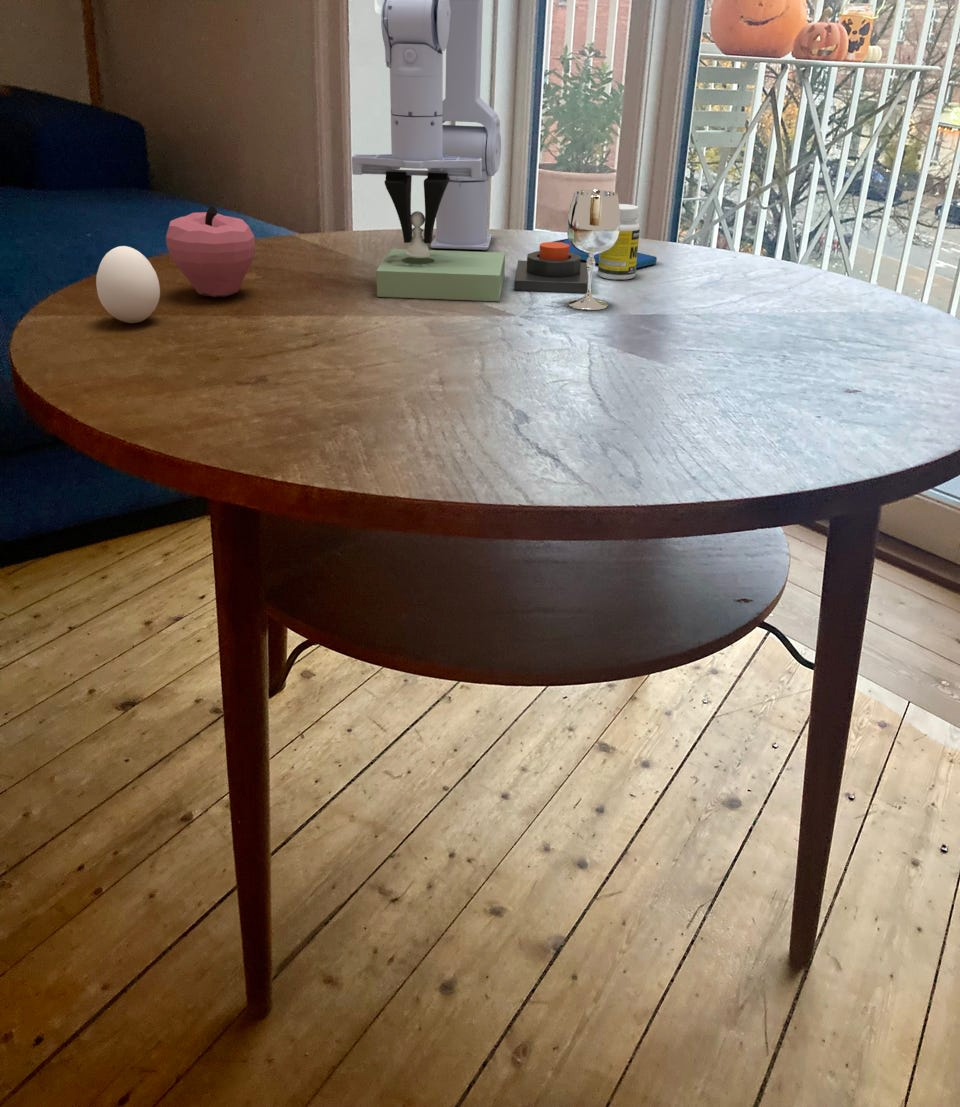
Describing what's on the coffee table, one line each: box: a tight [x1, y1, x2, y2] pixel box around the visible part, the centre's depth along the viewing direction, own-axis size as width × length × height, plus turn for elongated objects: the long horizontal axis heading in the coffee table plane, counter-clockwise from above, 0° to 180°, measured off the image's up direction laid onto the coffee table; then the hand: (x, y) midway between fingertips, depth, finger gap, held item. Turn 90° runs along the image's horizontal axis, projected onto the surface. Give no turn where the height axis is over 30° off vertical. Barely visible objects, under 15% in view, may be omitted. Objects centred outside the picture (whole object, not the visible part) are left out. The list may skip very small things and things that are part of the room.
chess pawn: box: [406, 210, 430, 258], centre depth 115 cm, size 3×3×5 cm
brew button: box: [538, 241, 570, 260], centre depth 120 cm, size 4×4×2 cm
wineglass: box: [566, 189, 620, 311], centre depth 109 cm, size 6×6×12 cm
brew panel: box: [514, 250, 588, 294], centre depth 121 cm, size 11×9×3 cm
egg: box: [95, 245, 161, 324], centre depth 100 cm, size 6×6×8 cm
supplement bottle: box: [597, 203, 641, 281], centre depth 123 cm, size 5×5×8 cm
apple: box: [165, 205, 256, 298], centre depth 110 cm, size 10×9×10 cm
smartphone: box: [552, 238, 658, 269], centre depth 133 cm, size 7×1×15 cm
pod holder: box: [375, 248, 506, 302], centre depth 117 cm, size 12×14×3 cm
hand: (417, 241), depth 116 cm, fingers closed on chess pawn, 2 cm apart
